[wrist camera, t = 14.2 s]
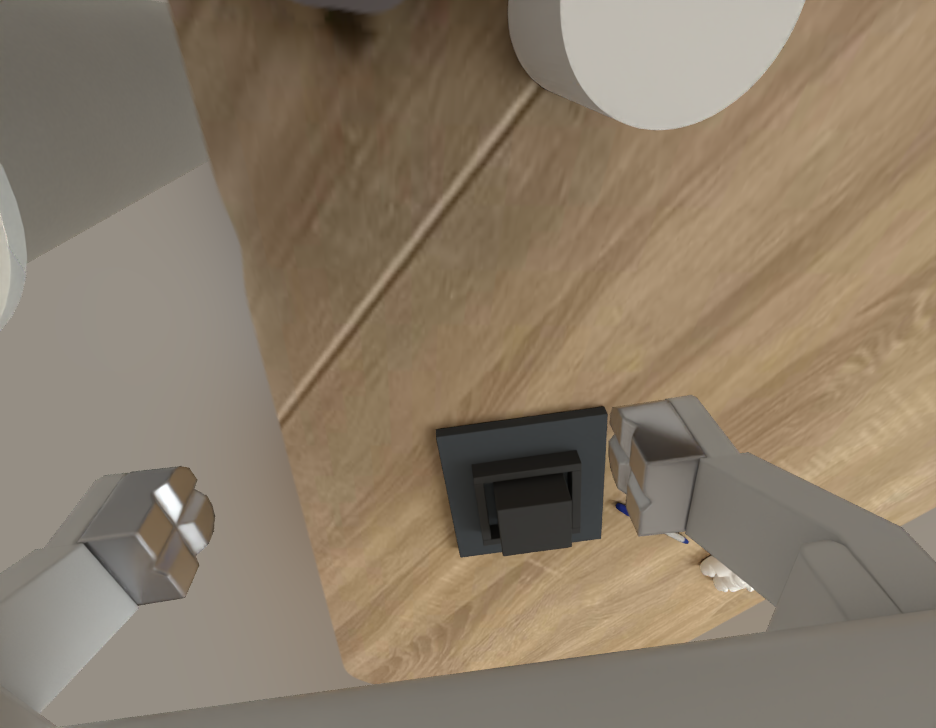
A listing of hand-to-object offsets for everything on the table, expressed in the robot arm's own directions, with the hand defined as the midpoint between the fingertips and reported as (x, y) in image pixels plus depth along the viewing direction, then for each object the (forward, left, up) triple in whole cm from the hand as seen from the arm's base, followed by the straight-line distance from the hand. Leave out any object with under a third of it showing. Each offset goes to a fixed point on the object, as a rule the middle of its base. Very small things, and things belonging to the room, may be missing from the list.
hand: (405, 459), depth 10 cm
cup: (+10, +7, -24) cm, 27 cm away
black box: (+5, -28, -23) cm, 37 cm away
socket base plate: (+5, -28, -24) cm, 37 cm away
